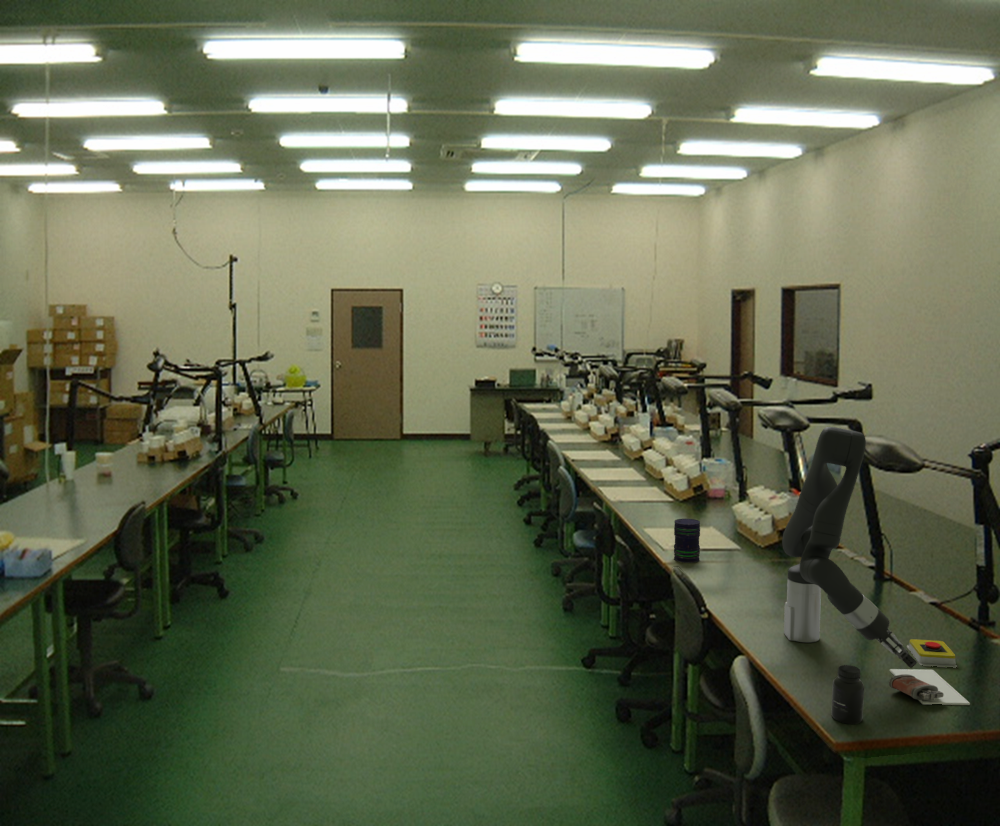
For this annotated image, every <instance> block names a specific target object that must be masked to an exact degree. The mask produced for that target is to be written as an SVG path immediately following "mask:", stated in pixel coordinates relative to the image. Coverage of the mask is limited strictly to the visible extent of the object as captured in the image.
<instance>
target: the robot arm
mask: <svg viewBox="0 0 1000 826" xmlns="http://www.w3.org/2000/svg"><path fill="white" fill-rule="evenodd" d="M866 441H867V438H866V435H865V434H864V433H863V432H860V431H856V430H851V429H846V428H842V427H841V428H840V427H836V426H826V427H824V428H823V429H822V430H821V432H820V433H819V437H818V439H817V442H816V445H815V449H814V453H813V457H812V461H811V464H810V468H809V471H808V473H807V475H806V478H805V480H804V482H803V485H802V487H801V491H800V494H799V496H798V499H797V503H796V506H795V508H794V511H793V513H792V515H791V517H790V519H789V520H788V522H787V525H786V527H785V529H784V531H783V534H782V541H781V543H782V549H783V551H784V553H785V554H786V555H787V556H790V557H795V558H800V562H799V563H798V564H795V565H792V566H791V567H789V568H788V570H787V581H786V582H787V586H786V589H787V592H786V601H785V602H784V612H783V613H784V615H783V616H784V617H783V618H784V620H783V622H784V623H783V634H784V635H785V636H786V638H787V639H788V641H794V642H797V643H798V642H800V643H816V642H818V641H819V640H820V633H821V628H820V627H821V599H822V591H824V593H825V594H826V595H827V596H826V597H827V599H828V601H829V602H830V603H831V604H832V605H833V606H834V608H836V610H838V611H839V613H841V615H842V616H843V617H844V618H845V620H846V621H847V622H848V623H849V624H850V625H851V626H853V628H854V629H855V630H856V631H858V633H859V634H860V635H861V636H862V637H863V638H864V639H865V640H868V641H875V640H876V641H877V642H878V643H880V644H881V646H883V647H884V648H886V650H888V651H889V652H890V653H891V654H892V655H895V656H897V658H898V659H900V660H902V662H903V663H904V664H906V665H907V667H909V668H910V669H913V668H914V666H916V665H917V663H918V661H917V660H916V659H915V658H913V657H912V656H911V655H910V653H909V650H907V649H906V648H905V647H904V644H903V643H902V642H901V641H900V640H899V639H898V638H897V635H895V633H894V632H892V631H891V629H889V626H890V619H889V617H887V616H886V615H885V614H884V613H883V612H882V611H881V610H880V609H879V608H878V607H877V606H876V605H875V604H874V603H873V602H872V601H871V600H870V599H869V598H867V597H866V596H865V595H864V594H863V593H862V592H861V591H860V590H859V589H858V588H857V587H856V586H854V584H852V583H851V582H850V579H849V578H848V576H847V575H846V574H845V572H844V571H843V570H842V569H841V567H839V565H837V564H836V562H834V561H833V560H831V559H830V557H831V556H830V555H831V553H832V551H833V550H834V549H837V548H838V547H839V545H840V542H841V538H842V537H841V536H842V533H843V527H844V522H845V518H846V513H847V511H848V506H849V504H850V500H851V498H852V495H853V492H854V489H855V485H856V482H857V480H858V476H859V473H860V470H861V466H862V463H863V460H864V457H865V452H866V446H867V442H866ZM828 464H830V465H831V464H832V465H835V466H841V467H844V468H845V471H844V474H843V476H842V478H841V480H840V481H839V483H837V482H836V480H835V477H834V475H833V474H832V473H831V471H830V469H829V467H828Z"/></svg>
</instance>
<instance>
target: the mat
mask: <svg viewBox="0 0 1000 826" xmlns="http://www.w3.org/2000/svg"><path fill="white" fill-rule="evenodd" d="M889 672H890V673H891V675H893V677H894V676H897V675H902V674H908V675H912V676H914V677H915V678H917V679H919V680H921V681H923V682H925V683H928V684H930V685H934V686H936V687H937V688H938V691H940V692H942V693H943V694H944V696H943V697H941V698H934V700H928V699H926V700H918V702H919V703H921V704H922V705H932V704H942V705H943V706H944V705H945V706H951V705H952V706H971V705H970V704H971V702H969V701H968V700H967V698H965V697H964V696H963V695H961V693H959V692H958V691H957V690H956V689H955V688H954V687H953V686H952V685H950V684H949V683H948V681H946V680H945V679H944V678H942V677H941V675H939V674H938V673H937V672H936V671H935V670H934V669H920V668H919V669H916V668H915V669H913V668H910V669H909V668H907V669H906V668H905V669H904V668H903V669H902V668H901V669H900V668H898V669H897V668H890V669H889ZM942 705H941V706H942Z"/></svg>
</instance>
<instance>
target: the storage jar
mask: <svg viewBox="0 0 1000 826" xmlns="http://www.w3.org/2000/svg"><path fill="white" fill-rule="evenodd" d="M700 524H701V521H700V520H698V519H695V518H677V519H675V520H674V526H673V534H674V544H673V555H674V556H673V560H674V561H676V562H679V563H684V564H685V563H688V564H689V563H690V564H691V563H697V562H699V561H700V553H701V546H700V536H701V525H700Z"/></svg>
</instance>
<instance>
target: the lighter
mask: <svg viewBox="0 0 1000 826" xmlns="http://www.w3.org/2000/svg"><path fill="white" fill-rule="evenodd" d="M888 686H889V687H890V688H892V689H894V690H897V691H900V692H902V693H904V694H905V695H908V696H910V697H911V698H912V699H914V700H917V701H919V700H926V699H928V700H934V698H941V697H943V696H944V694H943V693H942V692H940V691H938V688H937V687H936V686H934V685H930V684H928V683H925V682H923V681H921V680H919V679H917V678H915V677H914V676H912V675H908V674H902V675H897V676H894V675H893V676H892V677H890V679H889V681H888Z"/></svg>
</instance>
